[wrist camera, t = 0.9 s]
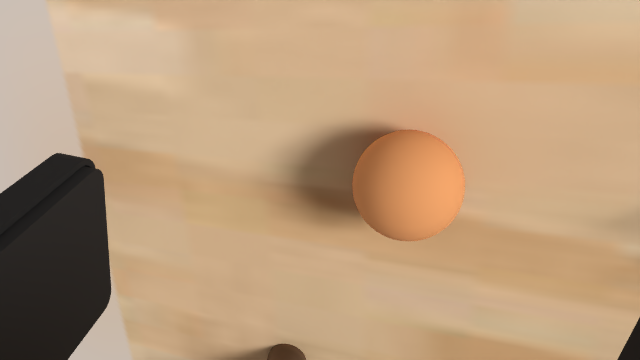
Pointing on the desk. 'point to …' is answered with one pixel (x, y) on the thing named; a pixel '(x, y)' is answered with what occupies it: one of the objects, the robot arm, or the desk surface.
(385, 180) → the ball
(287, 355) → the post near camera
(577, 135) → the desk surface
